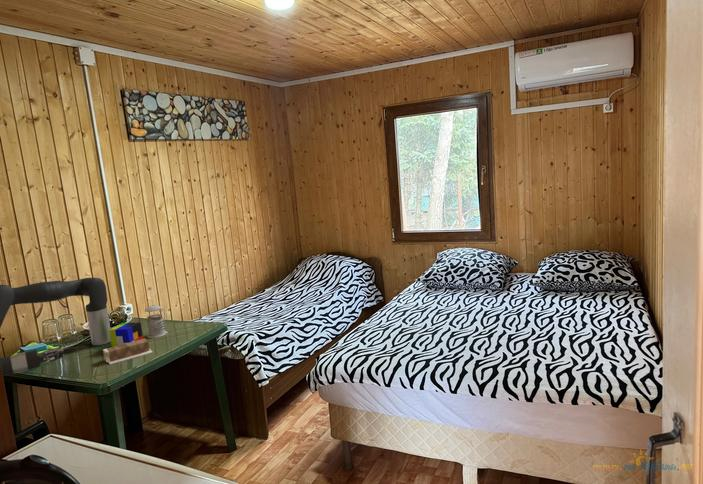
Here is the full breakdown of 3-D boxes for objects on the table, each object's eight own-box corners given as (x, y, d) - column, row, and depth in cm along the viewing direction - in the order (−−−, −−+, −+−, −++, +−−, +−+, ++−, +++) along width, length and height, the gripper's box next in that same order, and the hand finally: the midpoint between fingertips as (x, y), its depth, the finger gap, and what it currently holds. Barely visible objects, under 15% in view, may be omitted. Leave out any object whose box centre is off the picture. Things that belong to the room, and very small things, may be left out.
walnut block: (105, 352, 210) (148, 341, 221) (102, 349, 215) (144, 338, 226) (106, 362, 211) (149, 350, 221) (104, 359, 216) (146, 347, 226)
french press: (142, 336, 245) (135, 289, 241) (162, 329, 255) (155, 283, 251) (155, 338, 240) (147, 290, 236) (174, 331, 249) (167, 284, 246)
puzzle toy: (130, 349, 227) (127, 329, 226) (112, 349, 229) (108, 329, 228) (143, 341, 237) (140, 322, 235) (125, 342, 239) (122, 322, 237)
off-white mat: (109, 364, 209) (109, 363, 209) (105, 357, 219) (105, 356, 219) (152, 352, 219) (152, 351, 219) (146, 346, 229) (146, 345, 229)
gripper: (24, 356, 190) (74, 344, 200) (23, 348, 201) (70, 337, 211) (27, 374, 191) (77, 361, 201) (26, 365, 202) (73, 353, 212)
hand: (73, 349), depth 206 cm, fingers closed
